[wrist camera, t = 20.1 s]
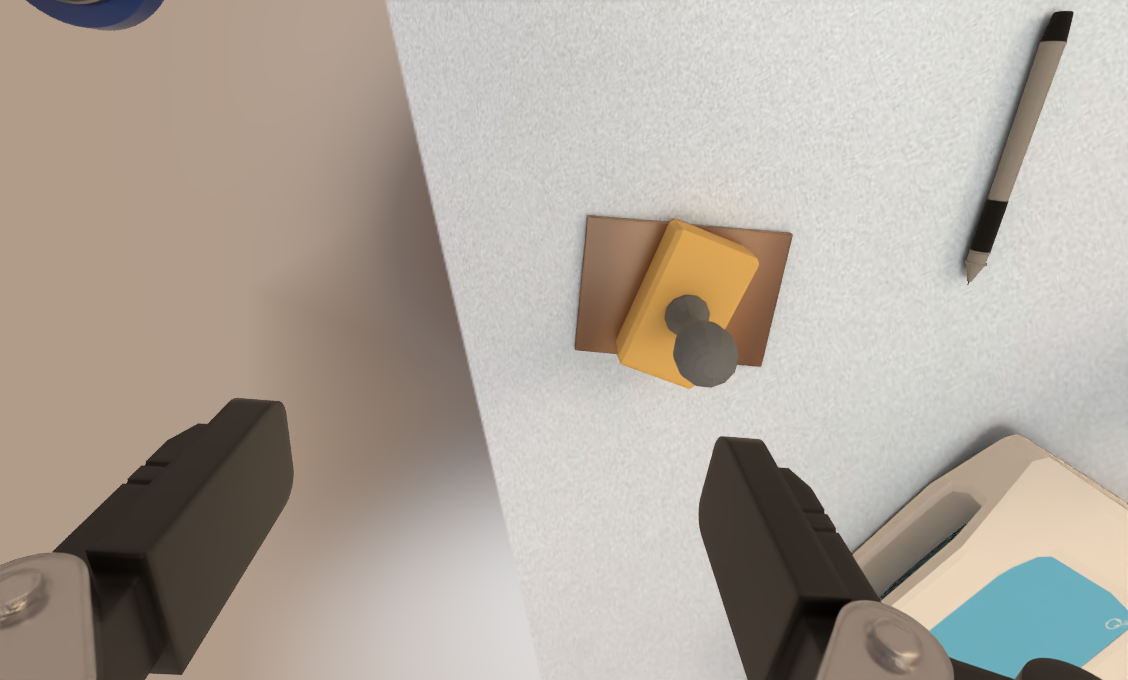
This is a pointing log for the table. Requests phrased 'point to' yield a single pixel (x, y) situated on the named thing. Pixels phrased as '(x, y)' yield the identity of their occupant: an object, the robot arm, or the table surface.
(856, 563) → the robot arm
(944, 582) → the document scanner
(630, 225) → the brown leather mat
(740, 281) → the rubber stamp
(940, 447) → the table surface
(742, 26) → the table surface
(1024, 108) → the pen
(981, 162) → the table surface
